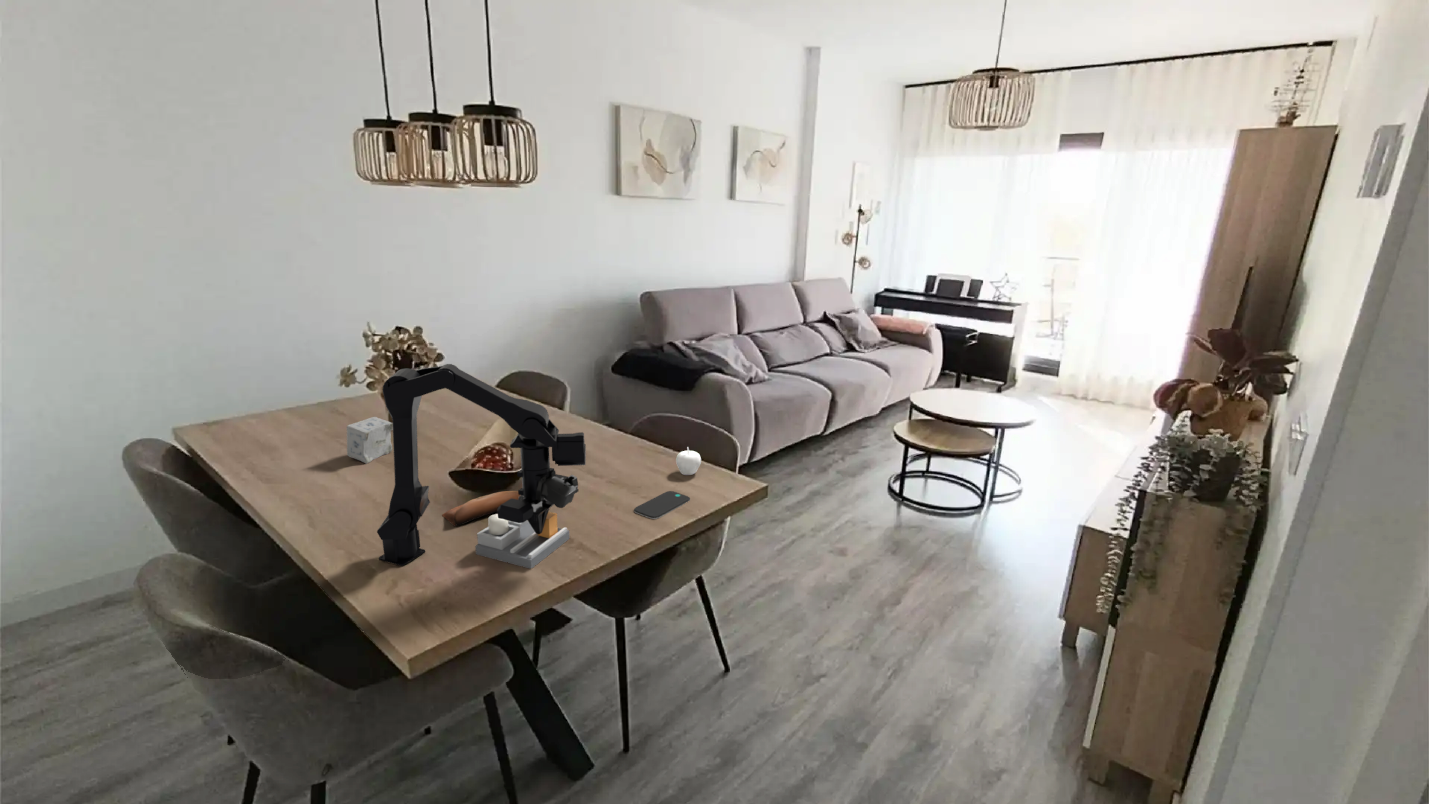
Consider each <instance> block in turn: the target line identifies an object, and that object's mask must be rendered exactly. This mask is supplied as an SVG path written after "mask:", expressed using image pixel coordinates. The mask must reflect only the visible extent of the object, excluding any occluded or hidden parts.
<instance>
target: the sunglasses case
mask: <svg viewBox="0 0 1429 804" xmlns="http://www.w3.org/2000/svg"><path fill="white" fill-rule="evenodd" d="M519 496H520V495H518V490H507V491H505V490H504V491H498V492H494V493H490V494H486V495H483V496H479V497H477V498H473V499H471V500H468V501H467V502H465V503H463V504H460V505H458V506H455V507H453V508H450V509H449V510H447V511H445V512H443V513H442V514H441V516H442V517H443V518H444V519H446V520H447V521H448V522H449V523H451V524H452V525H453V526H454V528H455V527H457V526H461V525H463V524H466V523H468V522H471V521H474V520H476V519H478V518H479V519H480V518H481V517H483V516H487V515H489V514H493V513H495V512H496V513H498V510H497V508H498V507H499V506H500V505H501V504H503V503H505V502H506V501H508V500H510V499H511V498H512V499H517V500H518V498H519Z"/></svg>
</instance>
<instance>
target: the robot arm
mask: <svg viewBox="0 0 1429 804" xmlns="http://www.w3.org/2000/svg"><path fill="white" fill-rule="evenodd" d="M445 389H446V390H449V392H453V393H455V394H456V395H458V396H460V397H462V398H464V399H466V400H467V401H470V402H471V403H473V404H475V405H477V406H479V407H481V408H483V409H485V410H486V411H488V412H490V413H493V414H495V415H496V416H498V417H499V418H501V419H502V420H503V421H504V422H505V423H506V424H507V425H508V426H509V428H511V430H513V431H515V432H516V433H517V435H515V437H513V439H512V440H511V442H510V445H509V447H510V449H519V450H520V466H521V467H520V470H518V471H517V472H516V475H517V477H518V478H521V483H522V486H521V488H519V489H518V490H517V491H518V495H523V496H524V498H523V499H522V500H517V499H512V498H511V499H510V500H508V501H506V502H505V503H503V504H501V505H500V506H499V507H498V508H497V510H498V511H497V514H498V518H500V519H504V520H508V521H512V522H517V523H523V522H525V521H526V520H528V522H529V523H530V525H531V527H532V528H533V530H534V531H535V533H536V534H541V533H542V531H543V528H544V524H545V521H546V517H547V514H548V512H550V509H551V508H552V507H553V506H555V507H557V508H559V509H563V508H565V506H567V505H569V504H570V503H573V500H574V497H575V494H577V493H578V492H579V488H578V487H579V483H578V477H577V476H576V475H574V474H570V475H569V476H567V475H564V474H563V475H562V474H557V472H556V470H555V468H553V467H551V463H550V462H551V461H552V462H554V464H555V465H557V466H558V467H564V466H570V467H571V466H573V467H574V466H586V463H587V462H586V461H587V459H586V457H587V456H586V455H587V451H586V450H587V449H586V448H587V446H586V441H585V433H584V432H583V431H582V432H575V433H559V432H560V429H558V427H557V426H556V425H555V423H553V422H552V420H551V419H550V416H549V415H550V414H549V412H548V409H546V407H544V406H543V405H541V404H540V403H536V402H533V401H530V400H527V399H523V398H521V399H520V398H518V397H517V398H516V397H514V396H510V395H508V394H506V393H504V392H502V391H500V390H499V389H497V388H495V387H493V386H492V385H489V384H488V383H486V382H484V381H482V380H480V379H478V378H477V377H474V376H473V375H471V374H469V373H468V372H466V371H464V370H461V369H460V368H458V367H457V366H456V365H455V364H452V363H445V364H443V365H439V366H432V367H424V368H420V369H413V368H401V369H399V370H397V371H395V373H394V374H392V375H391V376H389V377H388V379H387V380H385V382H384V383H383V385H382V395H383V399H384V403H385V407H386V410H387V411H388V413H389V415H390V417H391V420H392V423H393V430H392V441H393V443H392V448H393V467H394V468H393V470H394V487H393V490H392V495H391V497H390V500H389V501H390V502H389V508H388V513H387V515H386V517H385V518H384V520H383V521H382V523H381V525H380V526H379V528H377V531H376V533H377V535H378V536H379V539H380V540H381V541H382V549H383V554H381V555H379V556H378V560H379V561H382V562H386V563H389V564H393V565H396V566H400V567H403V566H405V565H407V564H409V563H410V562H412V561H413V560H415V559H417V558H419V557H420V556H421V555H424V554H425V553H426V549H425V548H424V549H423V548H421V539H420V532H419V531H420V530H419V529H418V522H419V520H420V519H421V518H422V517H423V515H424V513H425V511H426V509H427V508H428V506H429V505H430V503H431V501H430V499H429V490H430V486H429V485H422V483H421V482H420V479H419V453H418V421H417V420H418V417H417V416H418V415H417V414H418V412H419V411H418V410H419V407H420V404H421V400H422V396H425V395H428V394H431V393H434V392H437V391H439V390H445ZM550 448H551V461H550Z"/></svg>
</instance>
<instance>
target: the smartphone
mask: <svg viewBox="0 0 1429 804" xmlns="http://www.w3.org/2000/svg"><path fill="white" fill-rule="evenodd" d="M688 501H689V502H690V501H691V498H690V496H688V495H685V494H682V493H680V492H677V491H673V490H668V491H665V492H663V493H661V494H659V495H657V496H655V497H653V498H651V499H649V500H648V501H645V502H643V503H641V504H639V505H637V506H636V507H635V508H634V509H633V512H634V513H635V514H637V515H639V516H642V517H645V518H647V519H651V520H657V519H658V520H659V519H660V518H662V517H664V516H666V515H668V514H669V513H671V512H673V511H675V510H677V509H678V508H680V507H682V506H684V505H685V503H686V502H687V503H689V502H688ZM687 503H686V504H687ZM683 504H684V505H683ZM676 508H677V509H676Z"/></svg>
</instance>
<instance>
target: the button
mask: <svg viewBox="0 0 1429 804" xmlns="http://www.w3.org/2000/svg"><path fill="white" fill-rule="evenodd" d="M487 521H488V522H487V523H488V525H487V526H489V533H490V534H492V535H502V534H505V533H507V532H508V530H509V528H508V520H504V519H500V518H498V513H495V514H492V515H490V516H489V517H488V518H487Z"/></svg>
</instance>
